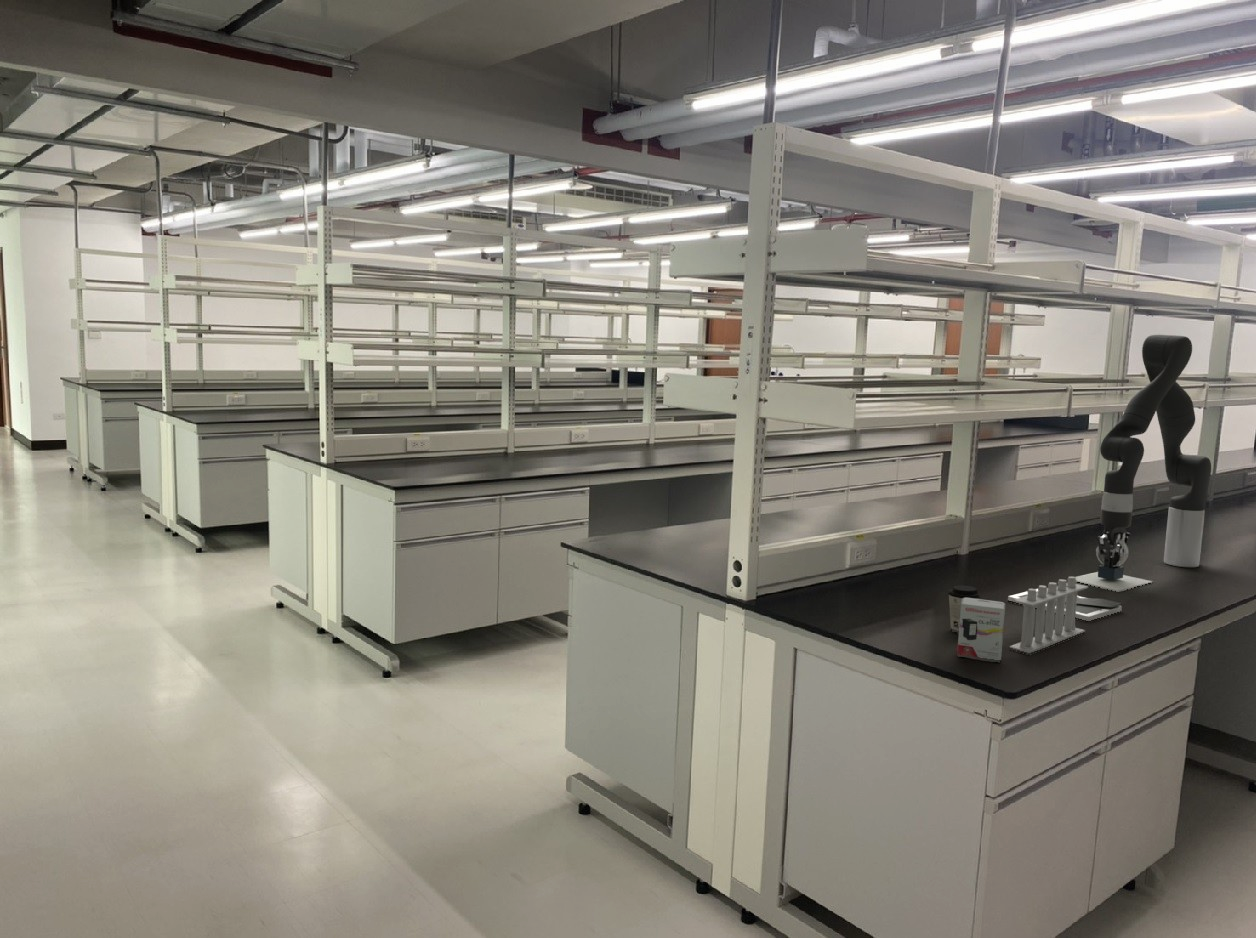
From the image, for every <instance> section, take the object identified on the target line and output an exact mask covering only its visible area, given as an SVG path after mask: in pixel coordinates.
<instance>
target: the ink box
mask: <svg viewBox="0 0 1256 938" xmlns="http://www.w3.org/2000/svg"><path fill="white" fill-rule="evenodd" d="M1005 613H1006V603H1005V602H1003V601H997V600H991V599H990V600H988V599H983V598H982V599H980V598H979V599H974V598H962V601H961V613H960V625H959V633H958V640H957V649H956V650H957V651H956V652H957V653H956V655H957V654H960V655H966V656H974V657H980V658H987V659H994V660H1001V661H1002V653H1003V638H1004V627H1005V615H1006V614H1005Z"/></svg>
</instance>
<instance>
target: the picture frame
mask: <svg viewBox="0 0 1256 938" xmlns="http://www.w3.org/2000/svg"><path fill="white" fill-rule="evenodd" d="M1035 589H1036V592H1038V588H1035ZM1027 591H1028V590H1026V591H1024V592H1019V593H1016V594H1012V595H1008V597H1007V601H1008V600H1009V601H1013V600H1015V599H1018V598H1021V597H1025V596H1027V595H1028V592H1027ZM1056 603H1057V599H1056ZM1020 604H1021V603H1019V604H1018V605H1020ZM1122 605H1123V603H1122V602H1117V601H1115V600H1114V601H1112V600H1109V599H1105V598H1093V597H1092V598H1089V597H1084V596H1079V595H1077V604H1076V616H1075V617H1076V618H1079V619H1082V620H1086V621H1091V620H1094V619H1097V618H1100V619H1102V618H1101V617H1103V618H1105V617H1104V616H1106V617H1108V616H1107V615H1109V616H1112V615H1111V614H1113V615H1115V614H1114V613H1116V614H1118V613H1117V612H1119V613H1121V612H1122V611H1123V610H1122V607H1123V606H1122ZM1065 607H1066V598H1065ZM1035 608H1037V605H1035ZM1046 609H1047V602H1046V606H1045V610H1046ZM1120 611H1121V612H1120ZM1055 613H1056V604H1055ZM1064 615H1065V610H1064ZM1082 620H1081V621H1082ZM1097 620H1098V619H1097ZM1094 621H1095V620H1094ZM1091 622H1092V621H1091Z"/></svg>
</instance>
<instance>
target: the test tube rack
mask: <svg viewBox="0 0 1256 938" xmlns="http://www.w3.org/2000/svg"><path fill="white" fill-rule="evenodd" d="M1067 577H1068V578H1067V579H1061V578H1060V579H1058V582H1053V581H1052V582H1051V581H1050V582H1048V585H1042V584H1041V585H1038V588H1028V590H1026V591H1027V592H1028V595H1027V596H1025V597H1021V598H1018V599H1015V600H1013V602H1016V603H1021V604H1023V605H1022V606H1023V609H1022V610H1023V613H1022V624H1021V625H1022V626H1021V639H1020V642H1017V643H1015V644H1014V643H1013V644H1012V645H1009V647H1010V648H1013V649H1016V650H1020V651H1024V652H1027V653H1031V652H1034V651H1037V650H1040V649H1042V648H1045V647H1048V646H1050V645H1053V644H1055V643H1057V642H1060V641H1062V640H1065V639H1067V638H1069V637H1072V636H1075V635H1077V634H1080V633H1083V632H1085V633H1086V630H1085V629H1082V628H1078V627H1076V619H1075V616H1076V604H1077V596H1078V592H1081V591H1084V590H1086V589H1089V585H1085V584H1080V583H1077V582H1076V581H1077V580H1076V577H1077V576H1067ZM1047 586H1048V587H1047ZM1036 589H1038V592H1036ZM1065 598H1066V607H1065ZM1056 599H1057V603H1056ZM1046 602H1047V609H1046V611H1045V606H1046ZM1016 603H1015V604H1016ZM1055 604H1056V614H1055ZM1035 605H1037V609H1035ZM1064 610H1065V616H1064ZM1053 646H1054V645H1053ZM1048 648H1049V647H1048Z"/></svg>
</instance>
